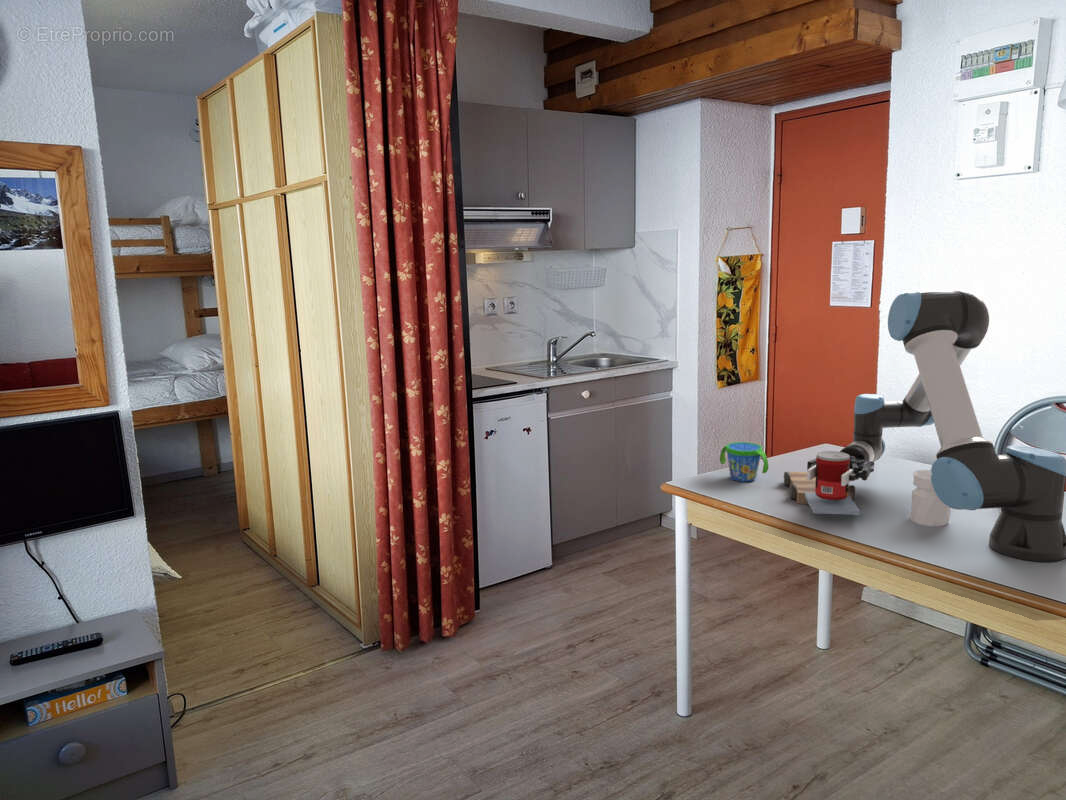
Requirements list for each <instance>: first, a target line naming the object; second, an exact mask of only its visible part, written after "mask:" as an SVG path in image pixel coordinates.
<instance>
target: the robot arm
mask: <svg viewBox="0 0 1066 800" xmlns="http://www.w3.org/2000/svg"><path fill="white" fill-rule="evenodd" d="M988 310H989V309H988V307H987V305H986V303H985V302H984V301H983V299H981V297H979V296H978V295H977V294H976V293H974V292H972V291H969V290H966V289H959V288H958V289H957V288H956V289H944V290H943V289H941V290H940V289H939V290H918V289H917V290H914V291H905V292H901V293H899V294H898V295H897V296H896V297H895V298H894V300H893V301H892V303H891V305H890V308H889V311H888V315H887V329H888V334H889V336H890V337H891V339H893V340H894V341H897V342H902V344H903V346H904V350H905V352H906V353H908V354H911V355H913V356H914V360H915V363H916V366H917V370H918V374H917V377H916V378H915V380H914V382H913V383H912V385H911V387H910V389H909V391H908V392H907V393H906V396H904V398H903V399H901V400H887V401H886V400H885V398H884V396H882V395H880V394H876V393H872V394H871V393H862V394H859V395H857V396H856V398H855V400H854V401H855V402H854V409H853V433H852V442H851V443H850V444H848V445H846V446H845V447H843V448H842V449H840V450H839V452H843V453H846V454H848V455H849V456H850V467H849V471H847V472H846V473H844V474H843V475H842V479H841V486H845V485H847V484H848V483H851V482H855V481H857V480H859V479H861V480H862V481H867V480H868V478H869V477H870V474H871V473H873V472H875V462H876V461H878V460H879V459H880V458H881V457H882V456H883V454H884V453H885V451H886V443H885V440H884V438H883V430H884V429H889V428H890V429H891V428H912V427H913V428H915V427H916V428H919V427H925V426H926V427H927V426H932V425H933V424H934V427H935V431H936V434H937V437H938V441H939V445H940V448H939V450H938V451H937V453H936V454H935V458H936V459H935V460H934V461H933V463H932V465H931V467H930V468H931V469H930V470H931V472H932V475H931V481H932V485H933V488H934V491H935V493H936V494H937V496H938V498H939V499H940V500H941V501H942V502H943V503H944V504H946V505H947V506H948V507H950V509H954V510H959V511H960V510H964V511H965V510H966V511H976V510H982V509H983V510H984V509H986V510H987V509H999V508H1000V512H999V515H998V517H997V518H996V520H995V523H994V526H993V528H992V529H991V531H990V532H989V539H988V545H989V546H990V548H991V549H992V550H994V551H996V552H999V553H1000V554H1002V555H1005V556H1008V557H1012V558H1015V559H1019V560H1024V561H1029V562H1030V561H1031V562H1044V563H1045V562H1051V563H1052V562H1058V561H1062V560H1064V559H1066V531H1065V527H1064V524H1063V521H1062V520H1063V508H1064V499H1065V492H1066V491H1065V490H1066V458H1065V457H1064V456H1063V455H1061V454H1060V453H1057V452H1054V451H1051V450H1047V449H1043V448H1039V447H1034V446H1026V445H1017V444H1016V445H1013V444H1011V445H1008V446H1007V447H1005V450H1004V453H1005V454H997V452H996V449H995V446H994V444H993V442H991V441H990V440H988V439H986V438H983V434H982V431H981V428H980V425H979V422H978V417H977V416H976V412H975V409H974V406H973V402H972V400H971V397H970V393H969V391H968V387H967V384H966V381H965V378H964V374H963V372H962V369H961V366H962V364H963V363H964V361H965V359H966V358H967V356H968V355H969V353H970V352H971V350H974V349H976V348H978V347H979V346H980V345H981V343H982V342H983V340H984V339H985V337H986V335H987V333H988V329H989V325H990V314H989V311H988ZM806 468H807V469H806V470H807V471H806V472H807V480H812V479H813V478H815V477H816V458H813V459H812V460H809V461H807V464H806Z"/></svg>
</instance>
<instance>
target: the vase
mask: <svg viewBox="0 0 1066 800" xmlns="http://www.w3.org/2000/svg"><path fill="white" fill-rule="evenodd" d="M931 475H932V472H931V469H918V470H916V471H914V472H913V483H912V484H913V485H914V486H915V488H914V489H913V490H912V491H911V510H910V520H911V521H912V522H913V523H916V524H919V525H921V526H927V527H944V526H947V525H949V523H950V515H951V508H950V507H948V506H947V505H946V504H944V503H943V502H942V501H941V500H940V499H939V498H938V496H937V494H936V493H935V491H934V488H933V485H932V481H931Z"/></svg>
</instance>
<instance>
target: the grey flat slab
mask: <svg viewBox="0 0 1066 800" xmlns="http://www.w3.org/2000/svg"><path fill="white" fill-rule="evenodd" d="M804 496H805V498H806V500H807V502H808V504H807V505H809V507H810V509H811V511H812V513H813V514H816V515H817V514H819V515H820V514H822V515H823V514H825V515H861V511H860V508H859V506H857V504H856V503H855V500H852V499H851V497H850V496H849V494H848V495H847V498H845V499H842V500H827V499H822V498H820V497H818V496H817V495H816V493H813V492H805V494H804Z"/></svg>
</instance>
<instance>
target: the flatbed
mask: <svg viewBox="0 0 1066 800" xmlns="http://www.w3.org/2000/svg"><path fill="white" fill-rule="evenodd" d="M815 483H816V477H815V478H813V479H812V480H807V471H784V472H783V484H784V485H783V486H785V487H789V497H790V499H791V500H795V502H796V503H797V504H806V505H809V504H808V502H807V500H806V498H805V496H804V494H805V492H813V493H815ZM848 494H849V496H850V497H851V499H852V500H853V501H855V500H856V496H857V495H856V487H855V485H852V484H850V485H849V486H848Z"/></svg>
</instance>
